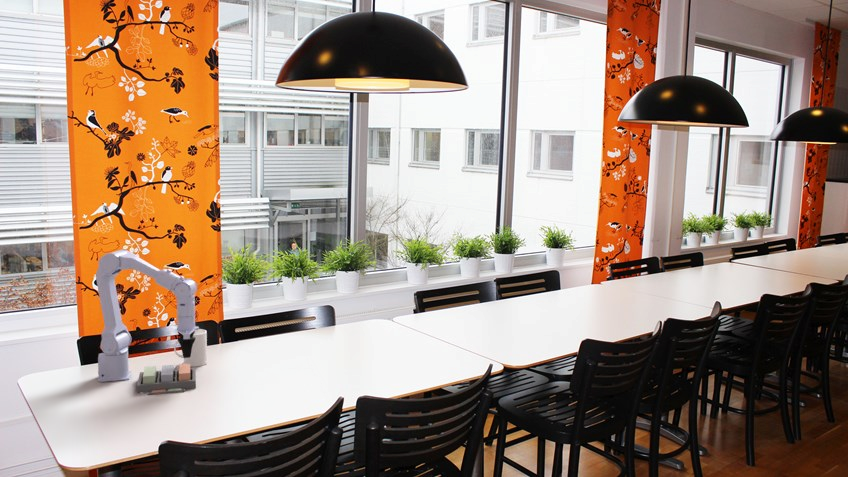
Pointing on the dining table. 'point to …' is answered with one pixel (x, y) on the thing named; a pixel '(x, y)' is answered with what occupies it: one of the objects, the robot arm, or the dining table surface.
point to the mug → (197, 350)
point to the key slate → (167, 373)
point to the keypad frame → (166, 385)
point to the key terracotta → (184, 372)
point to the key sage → (149, 375)
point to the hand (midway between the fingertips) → (186, 354)
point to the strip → (166, 391)
